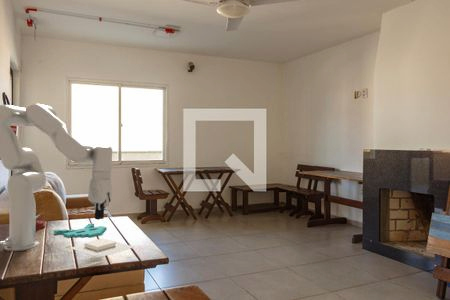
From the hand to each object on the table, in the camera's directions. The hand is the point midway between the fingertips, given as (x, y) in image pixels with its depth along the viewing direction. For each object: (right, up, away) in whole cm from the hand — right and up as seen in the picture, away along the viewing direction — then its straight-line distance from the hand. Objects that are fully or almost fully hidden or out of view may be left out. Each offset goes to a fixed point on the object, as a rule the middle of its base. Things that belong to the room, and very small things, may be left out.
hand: (99, 218), depth 147 cm
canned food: (-45, -12, +34) cm, 58 cm away
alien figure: (-16, -13, +24) cm, 31 cm away
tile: (-3, -11, +3) cm, 12 cm away
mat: (+1, -13, 0) cm, 13 cm away
